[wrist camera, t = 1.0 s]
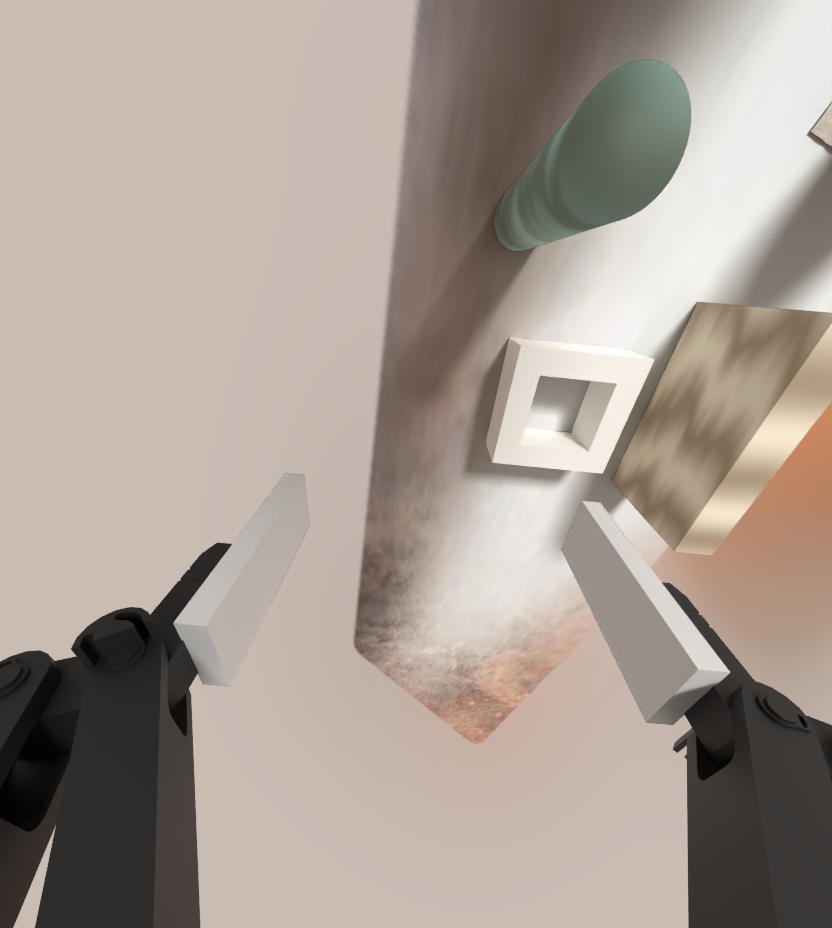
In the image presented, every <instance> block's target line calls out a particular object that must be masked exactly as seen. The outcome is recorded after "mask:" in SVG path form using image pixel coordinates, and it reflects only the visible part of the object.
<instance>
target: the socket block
mask: <svg viewBox="0 0 832 928" xmlns="http://www.w3.org/2000/svg"><path fill="white" fill-rule="evenodd" d="M653 362H654V359H651V358H648V357H646V356H643V355H640V354H637V353H634V352H632V351H629V350H626V349H616V348H607V347H597V346H588V345H578V344H568V343H559V342H549V341H540V340H530V339H521V338H511V337H509V341H508V345H507V350H506V354H505V359H504V363H503V367H502V372H501V376H500V381H499V385H498V390H497V394H496V399H495V403H494V407H493V412H492V416H491V421H490V425H489V430H488V434H487V438H486V446H487V449H488V452H489V455H490V458H491V461H492V463H500V464H510V465H520V466H530V467H540V468H550V469H560V470H570V471H580V472H590V473H601V474H603V472H604V470H605V467H606V465H607V463H608V461H609V459H610V456H611V454H612V452H613V450H614V448H615V445H616V443H617V441H618V439H619V437H620V434H621V432H622V430H623V428H624V426H625V424H626V421H627V419H628V417H629V415H630V413H631V410H632V408H633V406H634V404H635V402H636V399H637V397H638V395H639V393H640V391H641V389H642V386H643V384H644V382H645V380H646V378H647V375H648V373H649V371H650V369H651V367H652V364H653ZM540 376H548V377H558V378H568V379H577V380H587V381H590V383H589V385H588V388H587V391H586V394H585V396H584V399H583V402H582V404H581V407H580V410H579V412H578V415H577V418H576V421H575V423H574V426H573V429H572V431H571V433H568V432H558V431H548V430H539V429H529V428H525V426H526V423H527V419H528V416H529V412H530V409H531V405H532V402H533V398H534V395H535V391H536V388H537V385H538V381H539V378H540Z"/></svg>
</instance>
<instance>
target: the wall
mask: <svg viewBox="0 0 832 928" xmlns="http://www.w3.org/2000/svg"><path fill="white" fill-rule="evenodd" d="M831 401H832V313H827V312H814V311H802V310H790V309H778V308H765V307H753V306H741V305H729V304H716V303H704V302H697V304H696V306H695V308H694V310H693V312H692V314H691V316H690V319H689V321H688V323H687V325H686V327H685V329H684V331H683V333H682V335H681V337H680V339H679V341H678V344H677V346H676V348H675V350H674V352H673V354H672V356H671V358H670V360H669V362H668V364H667V366H666V369H665V371H664V373H663V375H662V377H661V379H660V381H659V383H658V385H657V387H656V389H655V391H654V394H653V396H652V398H651V400H650V402H649V404H648V406H647V408H646V410H645V412H644V414H643V416H642V419H641V421H640V423H639V425H638V427H637V429H636V431H635V433H634V435H633V437H632V439H631V441H630V444H629V446H628V448H627V450H626V452H625V454H624V456H623V458H622V460H621V462H620V464H619V467H618V469H617V471H616V473H615V475H614V477H613V479H612V481H611V482H612V483H613V484H614V485H615V486H616V487H617V488H618V490H619V491H620V492H621V493H622V494H623V495H624V496H625V497H626V498H627V500H628V501H629V502H630V503H631V504H632V505H633V506H634V507H635V508H636V510H637V511H638V512H639V513H640V514H641V515H642V516H643V517H644V518H645V520H646V521H647V522H648V523H649V524H650V525H651V526H652V527H653V528H654V530H655V531H656V532H657V533H658V534H659V535H660V536H661V537H662V538H663V540H664V541H665V542H666V543H667V544H668V545H669V546H670V547H671V548H672V550H673V551H675V552H686V553H696V554H707V555H712V554H713V552H714V551H715V550H716V549H717V547H718V546H719V545H720V544H721V542H722V541H723V540H724V539H725V537H726V536H727V535H728V533H729V532H730V531H731V530H732V528H733V527H734V526H735V524H736V523H737V522H738V521H739V519H740V518H741V517H742V515H743V514H744V513H745V512H746V510H747V509H748V508H749V506H750V505H751V504H752V503H753V501H754V500H755V499H756V497H757V496H758V495H759V494H760V492H761V491H762V490H763V488H764V487H765V486H766V485H767V483H768V482H769V481H770V479H771V478H772V477H773V475H774V474H775V473H776V472H777V470H778V469H779V468H780V467H781V465H782V464H783V463H784V461H785V460H786V459H787V458H788V456H789V455H790V454H791V452H792V451H793V450H794V449H795V447H796V446H797V445H798V443H799V442H800V441H801V439H802V438H803V437H804V436H805V434H806V433H807V432H808V431H809V429H810V428H811V427H812V426H813V424H814V423H815V421H816V420H817V419H818V418H819V417H820V415H821V414H822V413H823V411H824V410H825V409H826V408H827V406H828V405H829V404H830V402H831Z"/></svg>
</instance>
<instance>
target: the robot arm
mask: <svg viewBox="0 0 832 928" xmlns="http://www.w3.org/2000/svg"><path fill="white" fill-rule="evenodd" d="M308 528H309V516H308V507H307V497H306V487H305V478H304V475H301V474H289V473H285V475H284V476H283V477H282V479H281V480H280V481H279V483H278V484H277V485H276V487H275V488H274V489H273V491H272V492H271V493H270V495H269V496H268V497H267V499H266V500H265V501H264V503H263V504H262V505H261V507H260V508H259V509H258V511H257V512H256V513H255V515H254V516H253V517H252V519H251V520H250V521H249V523H248V524H247V525H246V527H245V528H244V529H243V531H242V532H241V533H240V535H239V536H238V537H237V539H236V540H235V541H234V543H233V544H226V543H216V544H215V545H213V546H212V547H210V548H209V549H208V550H206V551H205V552H203V553H202V554H201V555H200V556H199V557H198V558H197V560H196V561H195V562H194V563H193V564H192V566H191V567H190V570H187V572H186V573H185V574H184V575H183V576H182V578H181V580H180V581H178V582H177V584H176V585H175V586H174V587H173V588H172V589H171V591H170V592H169V593H168V595H166V597H165V598H164V599H163V600H162V602H161V603H160V604H159V605H158V606H157V607H156V609H155V610H154V611H153V612H152V613H151V615H149V613H148V612H147V611H145V610H144V609H142V608H134V607H129V608H124V609H120V610H116V611H114V612H111V613H109V614H107V615H105V616H102V617H101V618H99V619H98V620H96V621H95V622H93V623H92V624H90V625H89V626H88V627H87V628H86V629H85V630H84V631H83V632H82V633H81V634H80V635H79V636H78V637H77V638H76V640H75V643H74V644H73V646H72V648H71V650H72V651H73V652H74V653H75V655H76V656H77V657H72V658H67V659H63V660H58V661H54V660H53V659H52V658H51V657H50V656H49V655H48V654H47V653H44V652H42V651H27V652H23V653H20V654H17V655H14V656H11V657H9V658H7V659H5V660H3V661H1V662H0V928H13V927H14V924H15V922H16V919H17V917H18V915H19V912H20V910H21V907H22V905H23V903H24V900H25V898H26V895H27V893H28V891H29V888H30V886H31V883H32V881H33V878H34V876H35V874H36V871H37V869H38V866H39V864H40V862H41V859H42V857H43V854H44V852H45V849H46V847H47V845H48V842H49V840H50V837H51V835H52V833H53V830H54V828H55V826H56V828H55V833H54V838H53V843H52V848H51V853H50V857H49V862H48V867H47V872H46V877H45V882H44V887H43V892H42V897H41V902H40V906H39V911H38V916H37V921H36V926H35V928H200V909H199V883H198V859H197V836H196V835H197V834H196V810H195V809H196V808H195V783H194V758H193V735H192V710H191V709H192V708H191V694H190V691H189V687H190V685H191V684H192V682H193V680H194V679H195V677H196V675H197V673H198V675H199V677H200V679H201V681H202V683H203V684H206V685H218V686H229V687H230V686H231V684H232V683H233V681H234V679H235V677H236V675H237V673H238V671H239V669H240V667H241V664H242V662H243V660H244V658H245V656H246V654H247V652H248V650H249V648H250V646H251V644H252V642H253V640H254V638H255V636H256V634H257V632H258V630H259V628H260V626H261V624H262V622H263V620H264V618H265V615H266V613H267V611H268V610H269V607H270V605H271V603H272V601H273V599H274V597H275V595H276V593H277V591H278V589H279V587H280V585H281V583H282V581H283V579H284V577H285V575H286V573H287V570H288V569H289V567H290V565H291V562H292V561H293V559H294V557H295V554H296V552H297V550H298V548H299V546H300V544H301V542H302V540H303V538H304V536H305V534H306V532H307V530H308ZM561 550H562V552H563V554H564V556H565V558H566V560H567V562H568V564H569V566H570V568H571V570H572V572H573V574H574V576H575V578H576V580H577V582H578V584H579V586H580V588H581V591H582V593H583V595H584V597H585V599H586V601H587V603H588V605H589V607H590V609H591V611H592V613H593V615H594V617H595V619H596V621H597V623H598V625H599V627H600V629H601V631H602V633H603V636H604V638H605V640H606V642H607V644H608V646H609V648H610V650H611V652H612V654H613V656H614V658H615V660H616V662H617V664H618V666H619V668H620V670H621V672H622V674H623V677H624V678H625V680H626V682H627V684H628V687H629V689H630V691H631V693H632V695H633V697H634V699H635V701H636V703H637V705H638V707H639V709H640V711H641V713H642V715H643V717H644V720H645V722H647V723H657V724H670V725H673V724H675V723H676V722H677V721H678V720H679V719H680V718H681V717H682V716H683V715H684V714H685V716H686V718H687V719H688V721H689V723H690V724H691V726H692V728H691V729H690V730H689V731H688V732H687V733H686V734H684V735H683V736H682V737H681V738H680V739H678V740H677V741H676V742H675V744H674V747H673V750H674V751H676V752H677V753H678V752H679V751H680V750H681V749H683V748H684V747H685V746H686V745H687V754H686V755H685V758H686V759H687V808H688V809H687V811H688V903H689V904H688V910H689V911H688V912H689V928H832V725H830V724H827V723H824V722H822V721H819V720H817V719H814V718H811V717H809V716H806V715H805V714H804V713H803V712H802V711H801V710H800V708H799V707H797V706H796V705H795V704H794V703H793V702H792V701H790V700H789V699H788V698H787V697H785V696H784V695H783V694H781V693H779V692H778V691H776V690H775V689H773V688H771V687H769V686H766V685H764V684H762V683H759V682H756V681H755V680H754V679H753V678H752V677H751V676H750V675H749V673H748V672H747V671H746V670H745V668H744V667H743V666H742V665H741V664H740V662H739V661H738V660H737V659H736V658H735V656H734V655H733V654H732V652H731V651H730V650H729V649H728V647H727V646H726V645H725V644H724V642H723V641H722V640H721V639H720V638H719V636H718V635H717V634H716V633H715V631H714V630H713V629H712V628H710V627H709V624H708V623H707V622H706V620H705V619H704V618H703V617H702V616H701V615H699V612H698V611H697V609H696V608H695V607H694V606H693V604H692V603H691V602H690V601H689V599H688V598H687V597H686V596H685V595H684V594H682V593H681V592H680V591H679V590H678V589H676V588H675V587H674V586H673V585H671V584H670V583H662V582H661V581H660V580H659V579H658V577H657V576H656V575H655V574H654V572H653V571H652V569H651V568H650V567H649V565H648V564H647V563H646V562H645V560H644V559H643V558H642V556H641V555H640V554H639V552H638V551H637V550H636V549H635V547H634V546H633V545H632V543H631V542H630V541H629V539H628V538H627V537H626V535H625V534H624V533H623V532H622V530H621V529H620V528H619V526H618V525H617V524H616V522H615V521H614V520H613V519H612V517H611V516H610V515H609V513H608V512H607V511H606V509H605V508H604V507H603V505H602V504H601V503H600V502H589V501H582V502H581V505H580V507H579V509H578V511H577V514H576V516H575V518H574V521H573V523H572V525H571V528H570V530H569V532H568V535H567V537H566V539H565V541H564V544H563V546H562V548H561Z"/></svg>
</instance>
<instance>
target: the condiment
mask: <svg viewBox="0 0 832 928" xmlns="http://www.w3.org/2000/svg"><path fill="white" fill-rule="evenodd" d="M811 132H812V133H814V134H815V135H816V136H818V137H820V138H821V139H822V140H823V141H824V142H825V143H827V144H828V145H830V146H832V103H831V104H830V106H829V108H828V109H827V111H826V112H825V113H824V115H823V116H822V117H821V119H820V120H819V121H818V123H817V124H816V125H815V126H814V128H813V129H812V130H811Z"/></svg>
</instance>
